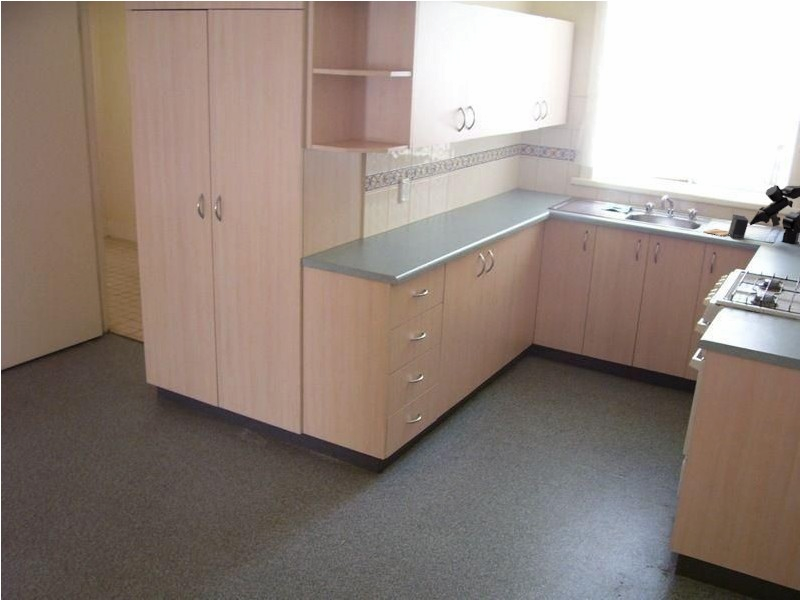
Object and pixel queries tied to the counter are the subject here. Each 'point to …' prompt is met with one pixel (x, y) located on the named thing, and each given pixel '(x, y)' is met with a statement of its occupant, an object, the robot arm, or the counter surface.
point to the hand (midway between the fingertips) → (749, 224)
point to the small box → (738, 226)
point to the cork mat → (717, 232)
